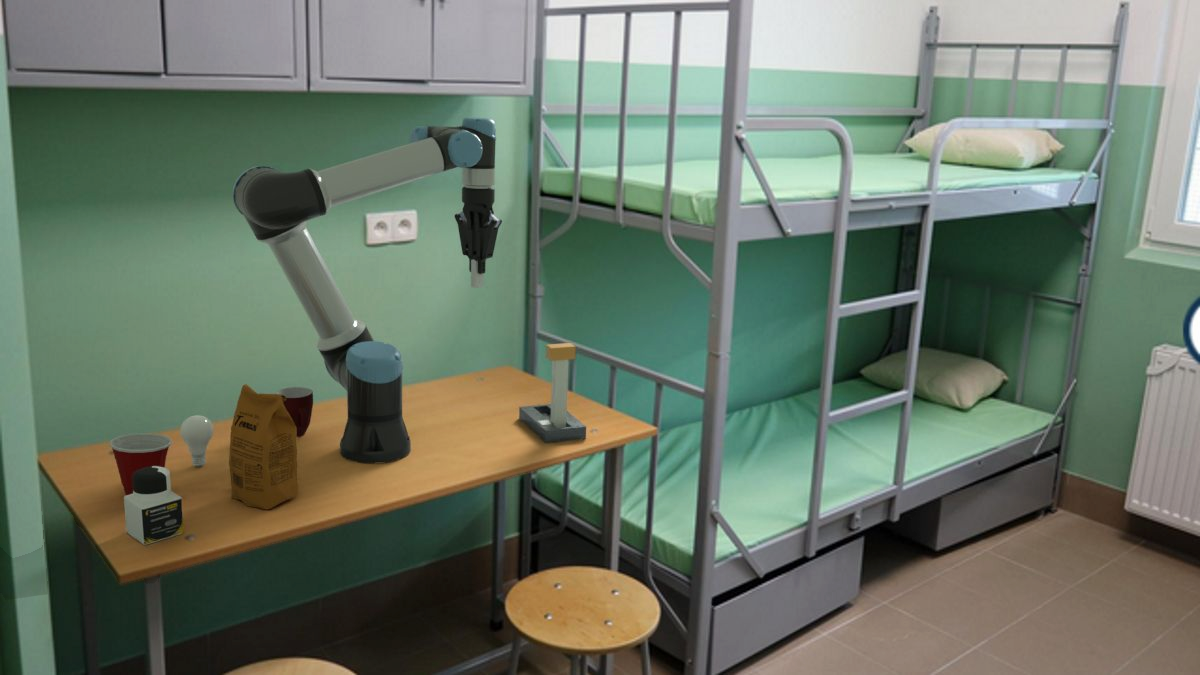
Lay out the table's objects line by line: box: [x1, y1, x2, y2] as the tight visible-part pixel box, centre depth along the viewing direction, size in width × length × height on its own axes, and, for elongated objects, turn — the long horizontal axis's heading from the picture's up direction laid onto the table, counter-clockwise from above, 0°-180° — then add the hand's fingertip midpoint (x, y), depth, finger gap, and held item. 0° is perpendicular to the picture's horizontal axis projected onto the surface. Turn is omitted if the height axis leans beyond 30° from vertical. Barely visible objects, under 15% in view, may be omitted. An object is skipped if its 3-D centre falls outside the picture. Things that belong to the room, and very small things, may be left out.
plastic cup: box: [108, 432, 173, 496], centre depth 193 cm, size 11×11×12 cm
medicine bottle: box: [123, 466, 184, 546], centre depth 179 cm, size 7×7×12 cm
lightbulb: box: [179, 414, 214, 468], centre depth 209 cm, size 6×6×11 cm
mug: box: [275, 386, 314, 438], centre depth 229 cm, size 11×8×10 cm
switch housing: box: [518, 403, 587, 444], centre depth 242 cm, size 18×10×3 cm, turn 24°
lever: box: [545, 342, 577, 428], centre depth 236 cm, size 3×6×20 cm, turn 114°
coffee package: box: [228, 383, 299, 510], centre depth 194 cm, size 10×12×22 cm
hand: (477, 286), depth 240 cm, fingers closed
